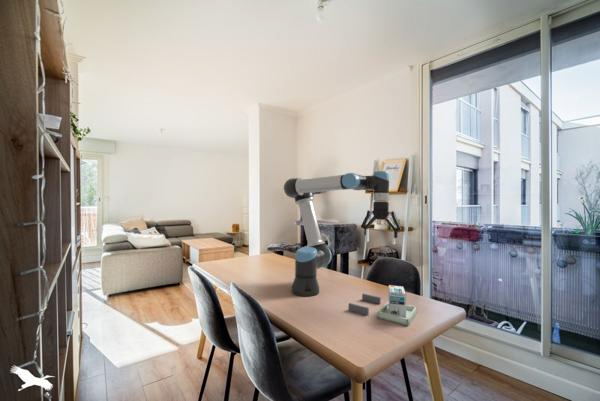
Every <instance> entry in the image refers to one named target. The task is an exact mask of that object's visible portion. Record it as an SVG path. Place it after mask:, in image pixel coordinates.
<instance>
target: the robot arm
mask: <svg viewBox="0 0 600 401" xmlns="http://www.w3.org/2000/svg"><path fill="white" fill-rule="evenodd" d="M341 190H342V191H343V190H353V191H373V201H374V202H372V203H373V204H372V206H373V210H370V209H369V210H367V211H366V215H365V217H364V219H363V221H362V222H361V225H360V229H361V228H362V229H363V232H364V233H363V234H364V236H365V242H366V243H368V242H370V229H369V228H370V226H371V225H373V223H374V222H376V220H377V221H378V220H382V221H384V220H385V222H387V224H388V225H389V226H390V227H391V229H392V230H393V231H392V235H391V236H392V238H391V240H392V242H391V245H396V239H397V238H398V232H399V231H402V227H401V225H400V222H399V220H398V218H397V216H396V211H394V210H393V211H390V210H389V204H390V203H389V200H390V197H389V195H390V173H389V172H388V171H387V170H377V171H374V172H373V174H372V175H362V174H357V173H354V172H348V173H344V174H340V175H339V174H338V175H330V176H321V177H312V178H305V179H303V178H301V177H297V178H295V177H293V178H292V177H291V178H288V179H287V180H286V181H285V183H284V184H283V192H284V194H285V195H286V196H287V197H289V198H291V199H292V198H293V199H294V201H295V204H296V205H298V208H299V213H300V216H301V221H302V224H303V230H304V233H305V238H306V241H307V245H306V246H305V247H299V248H297V250H296V251H295V256H294V259H295V263H294V264H295V268H294V276H295V277H294V279H293V282H292V285H291V293H292V294H293V295H296V296H300V297H312V296H313V297H314V296H317V295H319V294H320V285H319V282H318V279H317V270H318V269H321V268H325V267H326V266H327V265H329V264H330V263H331V261H332V256H333V255H332V252H331V250H330V248H329V247H328V246H327V245H326V242H325V241H324V240H323V239H322V236H321V231H320V227H319V223H318V220H317V215H316V212H315V207H314V204H313V202H314V199H315V197H314V195H315V193H320V192H321V193H322V192H330V191H331V192H332V191H341ZM371 215H372V218H371V219H370V217H371ZM389 215H390V216H391V218H392V220H393V221H392V220H391V219H390V217H389ZM369 219H370V220H369ZM393 222H394V223H393Z"/></svg>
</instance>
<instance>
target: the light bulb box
mask: <svg viewBox="0 0 600 401" xmlns="http://www.w3.org/2000/svg"><path fill="white" fill-rule="evenodd" d="M388 301H389V314H391V315H395V316H399V317H403V318H406V304H407V291H406V290H405V288H404V286H401V285H399V286H398V285H392V284H389V285H388Z"/></svg>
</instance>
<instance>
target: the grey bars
mask: <svg viewBox="0 0 600 401" xmlns="http://www.w3.org/2000/svg"><path fill="white" fill-rule="evenodd" d="M361 295H362V296H361V299H362V301H365V302H369V303H373V304H378V305H380V304H381V302H382V301H381V300H382V297H381V296H376V295H373V294H372V295H371V294H367V293H362V294H361ZM381 305H382V304H381ZM369 310H370V307H367V306H365V305H364V306H363V305H359V304H356V303H351V302H349V303H348V311H350V312H354V313H358V314H361V315H364V316H365V315H366V316H369Z"/></svg>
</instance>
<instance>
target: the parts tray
mask: <svg viewBox="0 0 600 401" xmlns="http://www.w3.org/2000/svg"><path fill="white" fill-rule="evenodd" d="M417 314H418V306H414V305H410V304H407V303H406V318H403V317H399V316H395V315H391V314H389V300H388V301H387V302H386V303H385V304H384V305H382V307H381V308H380V309H378V311H377V316H376V318H377V319H381V320H384V321H388V322H392V323H396V324H398V325H399V324H400V325H404V326H407V327H409V326H410V324H411V322H413V319H414V318H415V317H416V315H417Z"/></svg>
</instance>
